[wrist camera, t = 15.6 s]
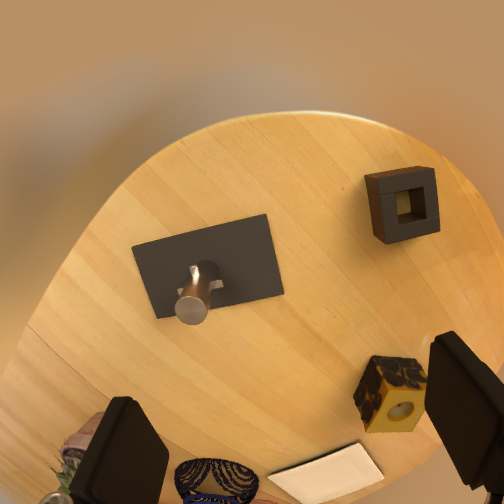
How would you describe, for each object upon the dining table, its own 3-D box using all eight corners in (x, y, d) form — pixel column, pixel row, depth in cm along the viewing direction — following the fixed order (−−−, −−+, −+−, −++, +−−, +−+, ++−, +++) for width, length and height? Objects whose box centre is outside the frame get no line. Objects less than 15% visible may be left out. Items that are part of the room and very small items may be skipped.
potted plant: (108, 382, 54) (56, 480, 30) (168, 443, 59) (144, 538, 35) (59, 400, 56) (10, 478, 33) (114, 454, 61) (84, 532, 38)
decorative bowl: (160, 474, 63) (148, 518, 49) (209, 448, 58) (202, 502, 45) (220, 502, 67) (216, 544, 53) (274, 480, 62) (276, 528, 49)
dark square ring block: (364, 175, 42) (376, 178, 37) (417, 165, 41) (434, 168, 36) (373, 235, 44) (386, 244, 40) (424, 223, 44) (440, 231, 39)
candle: (395, 398, 54) (412, 432, 44) (351, 396, 54) (363, 435, 44) (417, 357, 51) (439, 390, 41) (371, 353, 50) (389, 390, 41)
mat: (132, 246, 45) (131, 247, 45) (265, 213, 44) (265, 214, 43) (158, 317, 49) (157, 319, 48) (283, 292, 47) (284, 294, 47)
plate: (383, 473, 63) (385, 478, 61) (306, 502, 67) (307, 507, 65) (357, 436, 57) (359, 443, 55) (266, 470, 61) (266, 477, 59)
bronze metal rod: (180, 256, 45) (156, 291, 34) (221, 247, 45) (209, 280, 33) (192, 294, 47) (174, 338, 35) (232, 286, 46) (224, 329, 35)
